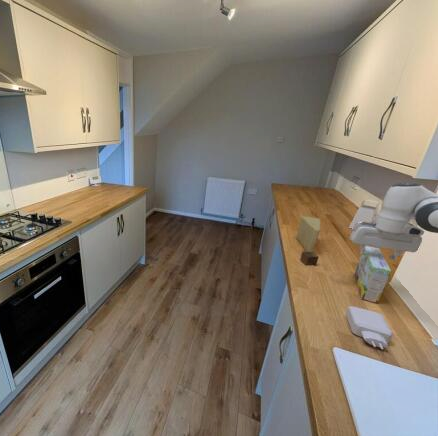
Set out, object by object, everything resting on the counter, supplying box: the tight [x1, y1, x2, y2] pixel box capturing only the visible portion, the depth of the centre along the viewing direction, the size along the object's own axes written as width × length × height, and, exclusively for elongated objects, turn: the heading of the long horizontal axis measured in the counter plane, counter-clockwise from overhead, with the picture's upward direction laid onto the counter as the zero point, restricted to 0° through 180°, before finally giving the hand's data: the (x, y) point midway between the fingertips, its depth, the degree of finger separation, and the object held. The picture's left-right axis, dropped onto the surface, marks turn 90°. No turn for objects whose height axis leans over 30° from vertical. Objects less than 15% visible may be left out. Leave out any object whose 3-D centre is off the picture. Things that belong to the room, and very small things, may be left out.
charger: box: [345, 305, 394, 350], centre depth 76 cm, size 5×9×15 cm
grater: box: [348, 199, 380, 230], centre depth 157 cm, size 10×10×20 cm
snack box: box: [354, 245, 392, 304], centre depth 98 cm, size 21×6×15 cm, turn 147°
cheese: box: [295, 216, 322, 253], centre depth 132 cm, size 22×10×15 cm, turn 154°
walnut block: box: [299, 251, 319, 267], centre depth 118 cm, size 5×5×5 cm
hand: (376, 256), depth 95 cm, fingers open, 8 cm apart
